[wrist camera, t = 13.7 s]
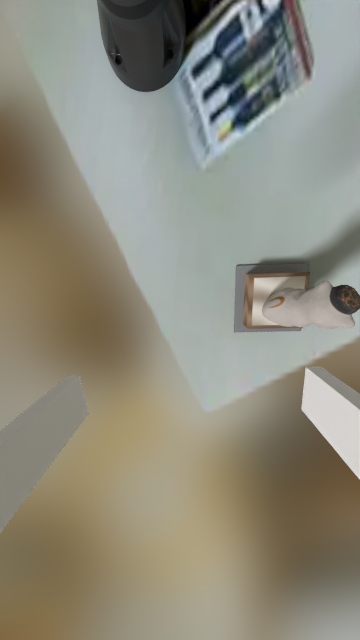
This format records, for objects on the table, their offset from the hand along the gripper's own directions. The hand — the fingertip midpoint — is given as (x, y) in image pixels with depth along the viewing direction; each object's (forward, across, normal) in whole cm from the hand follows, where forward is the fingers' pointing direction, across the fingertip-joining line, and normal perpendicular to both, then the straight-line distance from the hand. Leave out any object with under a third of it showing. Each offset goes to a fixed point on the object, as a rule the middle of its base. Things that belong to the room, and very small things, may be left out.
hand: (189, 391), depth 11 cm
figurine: (+31, +19, 0) cm, 36 cm away
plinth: (+35, +19, 0) cm, 40 cm away
